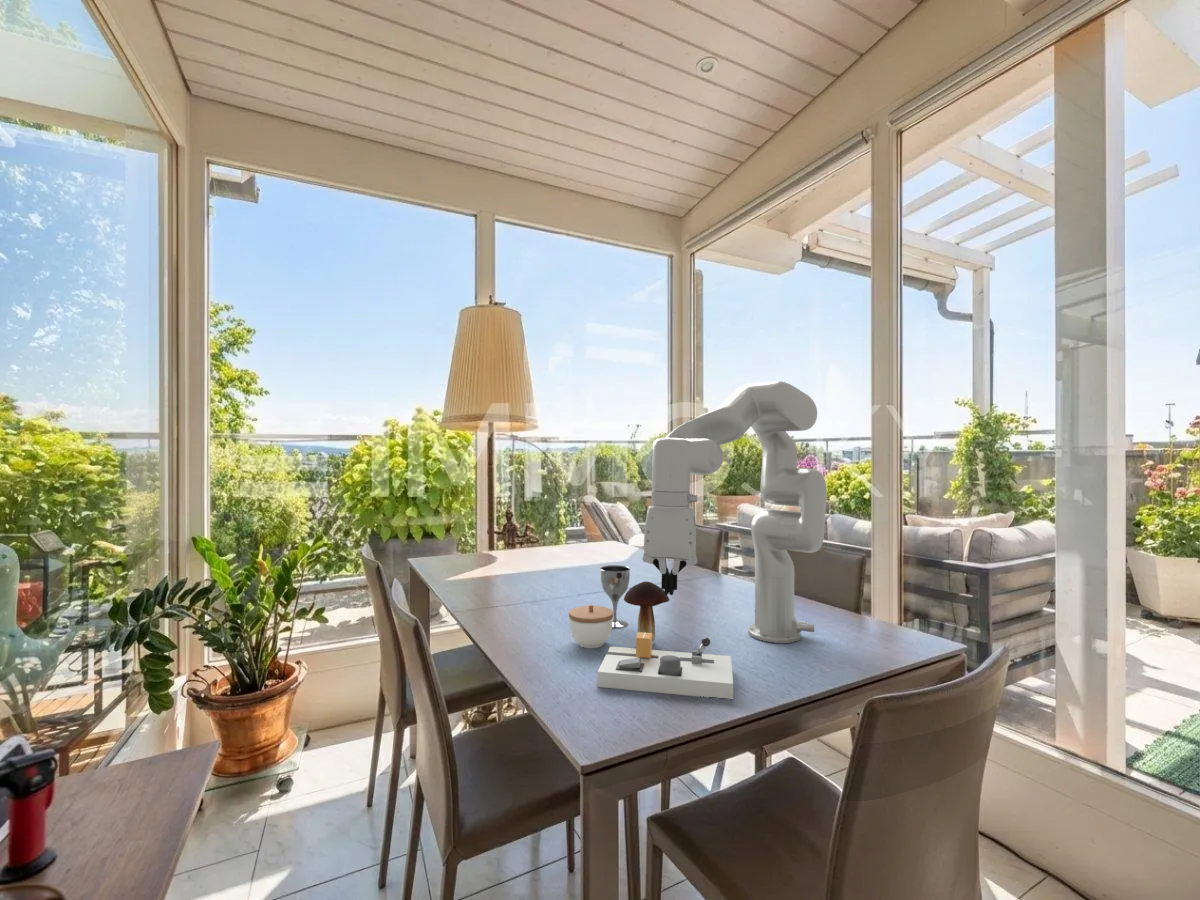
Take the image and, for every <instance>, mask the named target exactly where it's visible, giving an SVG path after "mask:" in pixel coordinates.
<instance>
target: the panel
mask: <svg viewBox="0 0 1200 900" xmlns="http://www.w3.org/2000/svg"><path fill="white" fill-rule="evenodd" d="M697 651H698V649H697V650H695V649H692V651H691V652H685V651H684V652H681V651H668V650H659V649H658V650H657V649H652V654H651V657H650V658H644V657H636V647H635V648H632V647H621V646H619V647H618V646H609V648H608V650H607V652H606V655H605V656H604V658H603V660H602V662H601V663H600V666H599V668H598V670H597V672H596V673H597V675H596V676H597V677H596V679H597V682H596V683H597V688H606V689H616V690H626V691H637V692H649V693H659V694H668V695H676V696H677V695H678V696H687V697H688V696H690V697H698V698H699V697H700V696H701V697H700V698H709V697H718V698H717V699H719V698H730V699H733V700H734V678H733V677H734V675H733V667H732V666H733V665H732V656H731V655H719V654H708V653H702V654H701V656H695V654H696V652H697ZM666 655H672V656H676V657H679V658H680V676H670V675H660V658H661V657H662V656H666ZM703 696H704V697H703ZM730 699H729V700H730Z"/></svg>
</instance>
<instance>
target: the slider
mask: <svg viewBox="0 0 1200 900" xmlns="http://www.w3.org/2000/svg"><path fill="white" fill-rule="evenodd" d="M637 632H638V631H637ZM635 649H636V657H644V658H650V657H651V654H652V650H653V642H652V633H646V632H644V633H643V632H638V634H636V636H635Z"/></svg>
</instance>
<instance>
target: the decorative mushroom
mask: <svg viewBox="0 0 1200 900" xmlns="http://www.w3.org/2000/svg"><path fill="white" fill-rule="evenodd" d="M623 601H624V602H625V603H627V604H629V605H633V606H638V607H639V611H638V612H639V613H638V619H637V632H636V633H637V634H638V632H643V633H644V632H646V633H652V643H654V641H655V637H656V625H655V623H656V622H655V614H654V607H655V606H658V605H661V604H663V603H664V604H665V603H667V602H670V598H669V596H668V594H667V595H665V589H662V588H661V586H658V585H657V584H655V583H653V582H651V581H641V582H639V583H638V584H635V585H634V586H632V587H631V588H629V589H627V591H626V592H625V595H624V597H623ZM637 634H636V635H637Z"/></svg>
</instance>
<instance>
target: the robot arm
mask: <svg viewBox="0 0 1200 900" xmlns="http://www.w3.org/2000/svg"><path fill="white" fill-rule="evenodd" d="M817 418H818V408H817V406H816V403H815V401H814V400H813V398H812V397H810V396H809V395H808V394H807V393H805V392H803V391H802V390H800V389H799V388H798V387H795V386H794V385H792V384H790V383H788V382H786V381H781V380H774V381H762V382H751V383H746V384H742V385H741V386H740V387H738V388H736V389H735V390H734V391H733V392H732V393H731V394H730V395H729V396H727V398H725V399H724V400H723V401H722V402H721V403H720V404H719V405H718V406H717V407H716V408H714V409H713V410H710V411H708V412H706V413H704V414H700V415H699V416H698V417H695V418H693V419H691V420H689V421H686V422H684V423H683V424H680V425H678V426H677V427H676V428H674V429H673V430H672V431H671V432H669V433H668V435H666V436H665V437H661V438H657V439H655V440H654V441H653V443H652V457H651V461H652V462H651V505H649V506H648V507H647V511H646V517H645V524H644V538H643V556H642V561H643V563H647V564H650V565H653V566H654V567H655V568H657V571H659V572H660V574H661V586H660V588H661V589H663V590H664V591H665V595H667V596H668V595H670V596H673V595H674V593H675V591H678V574H679V573H680V572H681V571H682V570H683V569H684V568H685V567H689V566H695V565H697V563H698V558H697V554H696V552H697V523H696V513H695V509H694V507H692V506H691V504H692V503H697V502H698V495H694V494H692V493H691V475H697V476H706V475H711V474H714V473H715V472H717V471H718V470H720V468H721V467H722V464H723V462H724V451H723V449H722V446H721V445H724V444H725V445H726V444H728V443H732V442H735V441H737V440H739V439H740V438H742V436H744V434H745V433H747V431H748V430H749V429H750V428H752V430H753V431H754V433H755V434H756V437H757V438H758V440H759V443H760V445H761V449H762V453H761V454H762V458H761V459H762V460H761V470H760V471H761V473H760V474H761V475H760V488H759V489H760V490H759V491H760V497H761V499H762V500H763V501H764V502H765V503H767V504H770V505H776V506H789V507H798V508H800V512H798V511H789V510H780V509H779V510H778V509H777V510H776V509H767V510H766V509H764V510H761V511H758V512H757V513H756V514H754V515H753V517H752V520H751V522H750V523H751V524H750V533H751V537H752V542H753V549H754V551H753V552H754V623H753V624H751V625H749V627H748V634H749V635H750V636H751V637H753V638H754V639H756V640H759V641H762V640H763V642H766V641H767V642H766V643H772V642H774V643H775V644H790V643H791V642H792V643H795V641H796V642H798V641H799V639H800V640H801V635H802V634H801V633H802V632H810V633H814V632H815V624H814V623H808V621H798V619H796V617H795V565H794V562H793V559H792V557H791V556H790V554H789V552H788V551H792V552H798V553H799V552H801V553H808V554H811V553H816V552H818V551H819V550H821V547H822V545H823V544H824V543H823V542H824V539H825V530H826V529H825V528H826V509H827V493H828V492H827V490H828V489H827V482H826V479H825V476H824V475H823V473H821V472H820V471H819V470H817V469H815V468H814V469H813V468H802V467H799V468H798V467H797V466H798V464H797V463H798V448H797V445H796V443H795V441H794V440H793V439H792V437H791V436H790V434H789V433H788V432H802V431H803V432H804V431H807V430H809V429H812V428H813V427H814V426H815V424H816V422H817ZM667 559H670V560H672V559H673V563H672V568H671V569H670V571H669V568H668V564H667Z"/></svg>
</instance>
